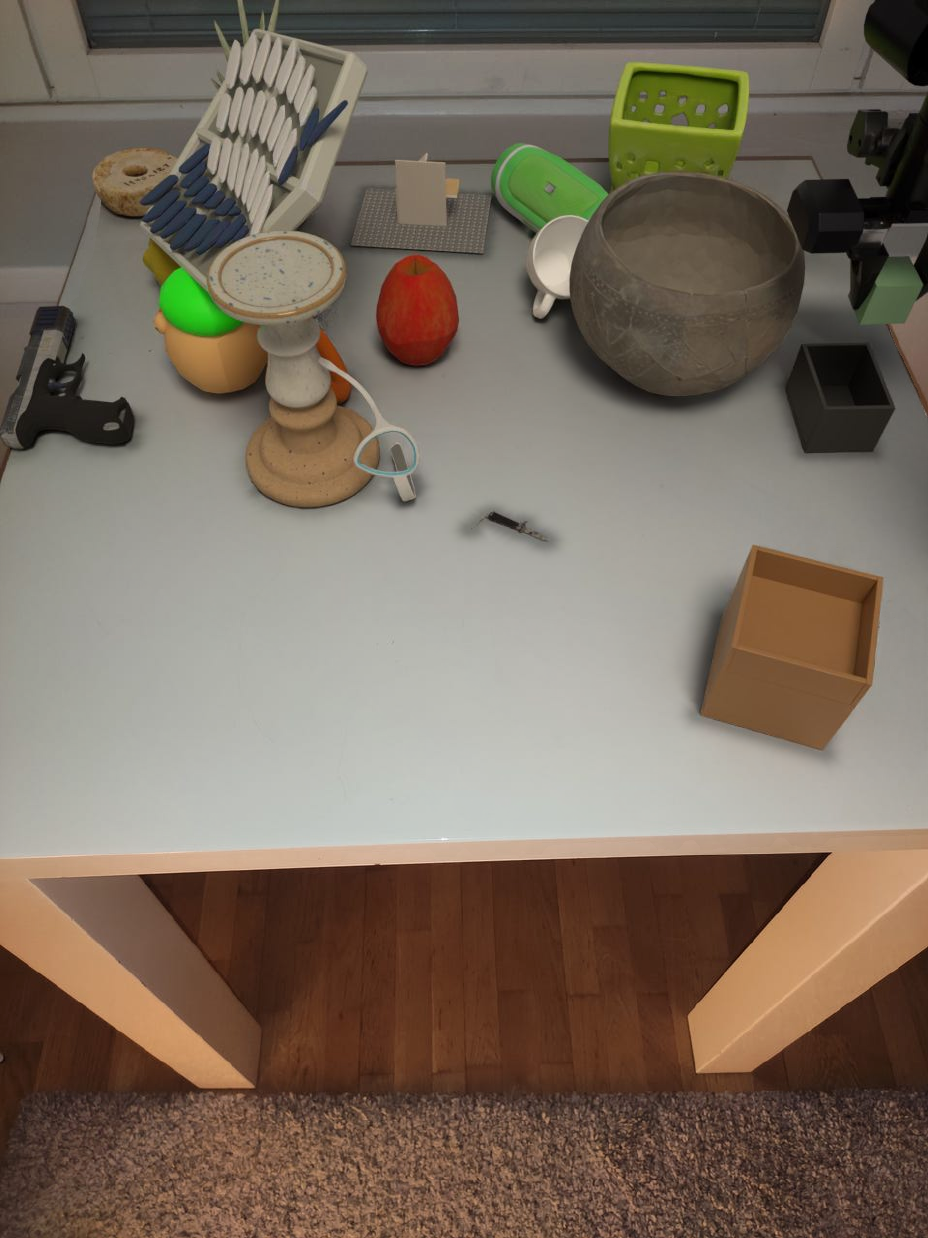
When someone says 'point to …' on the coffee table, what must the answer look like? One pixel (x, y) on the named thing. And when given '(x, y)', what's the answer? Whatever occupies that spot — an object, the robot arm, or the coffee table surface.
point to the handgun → (37, 380)
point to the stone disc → (130, 178)
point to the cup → (553, 260)
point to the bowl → (686, 281)
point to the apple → (417, 311)
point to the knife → (512, 524)
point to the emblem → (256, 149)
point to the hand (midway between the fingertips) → (878, 305)
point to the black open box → (838, 397)
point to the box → (794, 647)
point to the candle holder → (294, 366)
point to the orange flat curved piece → (330, 353)
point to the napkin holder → (423, 212)
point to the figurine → (206, 338)
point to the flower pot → (670, 145)
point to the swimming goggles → (403, 471)
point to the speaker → (542, 186)
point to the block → (891, 293)
